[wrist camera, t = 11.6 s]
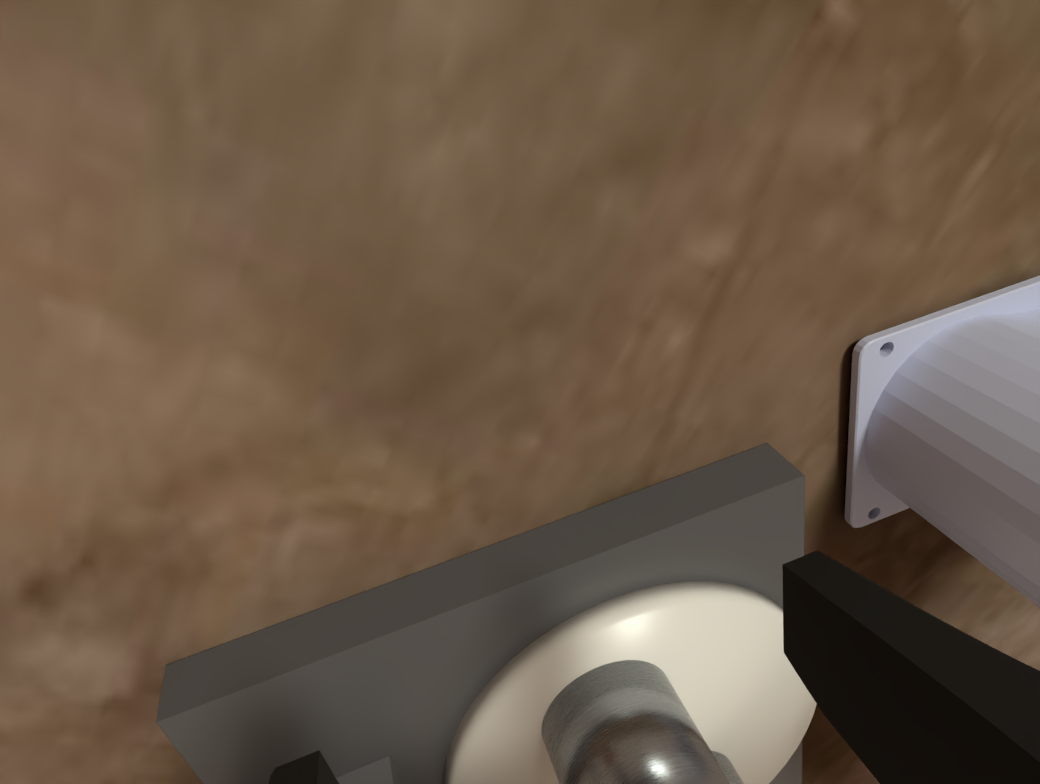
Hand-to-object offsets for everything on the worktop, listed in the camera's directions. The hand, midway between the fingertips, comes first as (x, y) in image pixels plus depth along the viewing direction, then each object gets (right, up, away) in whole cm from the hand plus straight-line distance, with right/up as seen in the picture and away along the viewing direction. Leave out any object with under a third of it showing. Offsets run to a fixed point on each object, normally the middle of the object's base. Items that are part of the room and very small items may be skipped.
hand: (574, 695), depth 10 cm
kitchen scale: (0, -8, +16) cm, 18 cm away
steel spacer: (+2, -6, +13) cm, 14 cm away
